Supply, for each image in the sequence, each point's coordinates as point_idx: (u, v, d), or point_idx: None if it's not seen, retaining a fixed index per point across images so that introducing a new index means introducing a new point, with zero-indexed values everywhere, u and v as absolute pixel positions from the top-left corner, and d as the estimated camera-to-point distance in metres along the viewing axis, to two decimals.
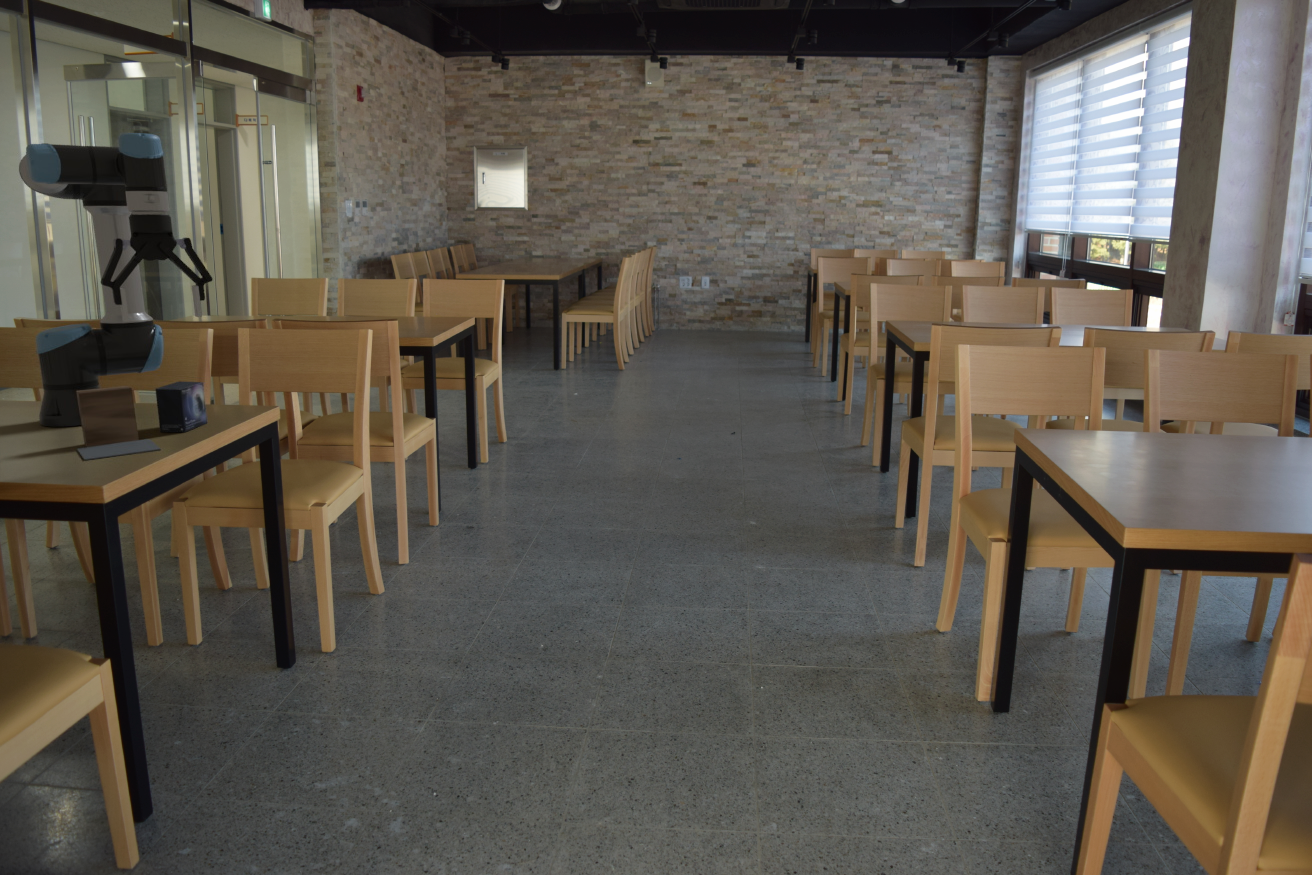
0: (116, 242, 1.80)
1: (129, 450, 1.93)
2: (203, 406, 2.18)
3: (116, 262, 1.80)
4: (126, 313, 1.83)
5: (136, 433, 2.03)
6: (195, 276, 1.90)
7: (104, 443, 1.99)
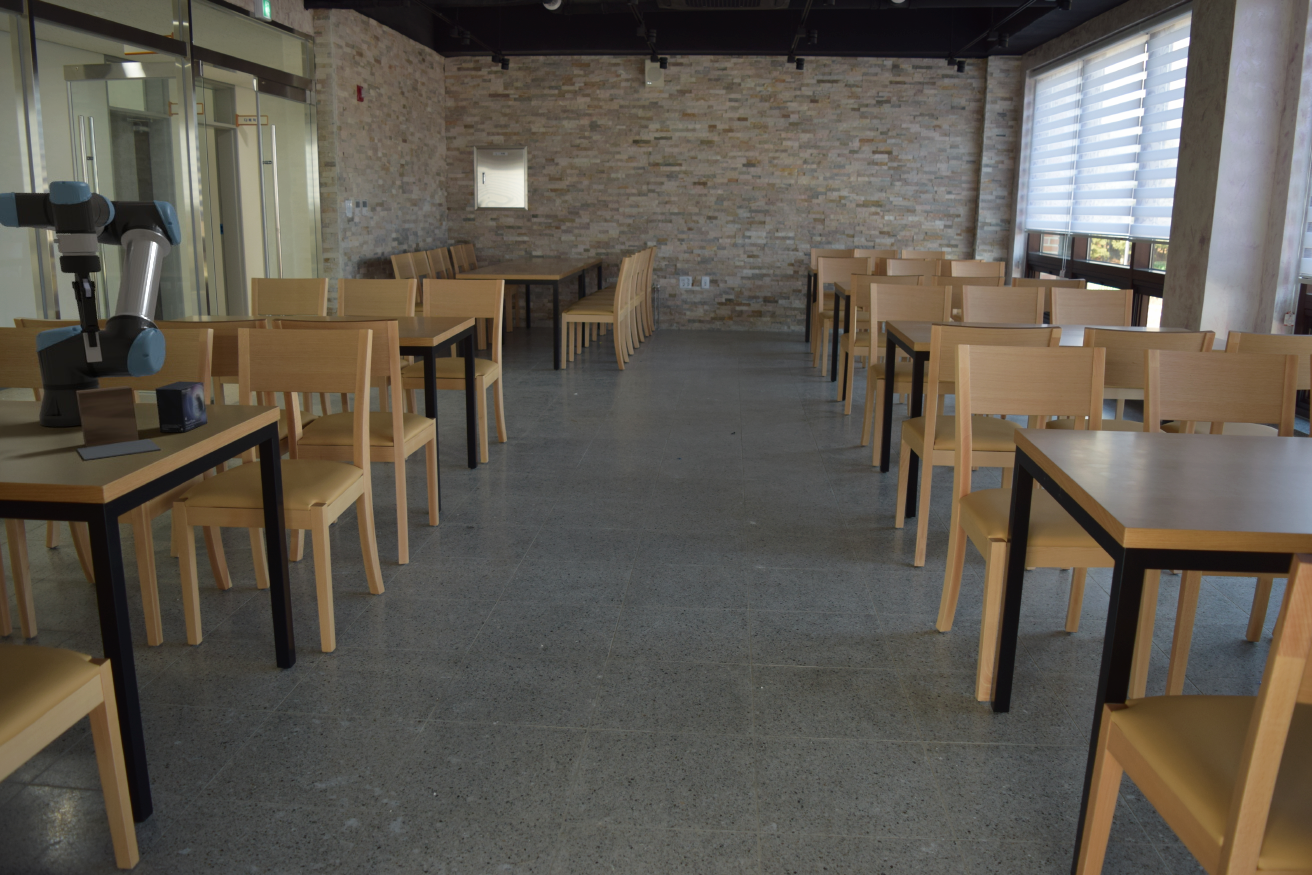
0: None
1: (129, 450, 1.93)
2: (203, 406, 2.18)
3: (77, 305, 2.03)
4: (86, 354, 2.03)
5: (136, 433, 2.03)
6: (83, 323, 2.00)
7: (104, 443, 1.99)
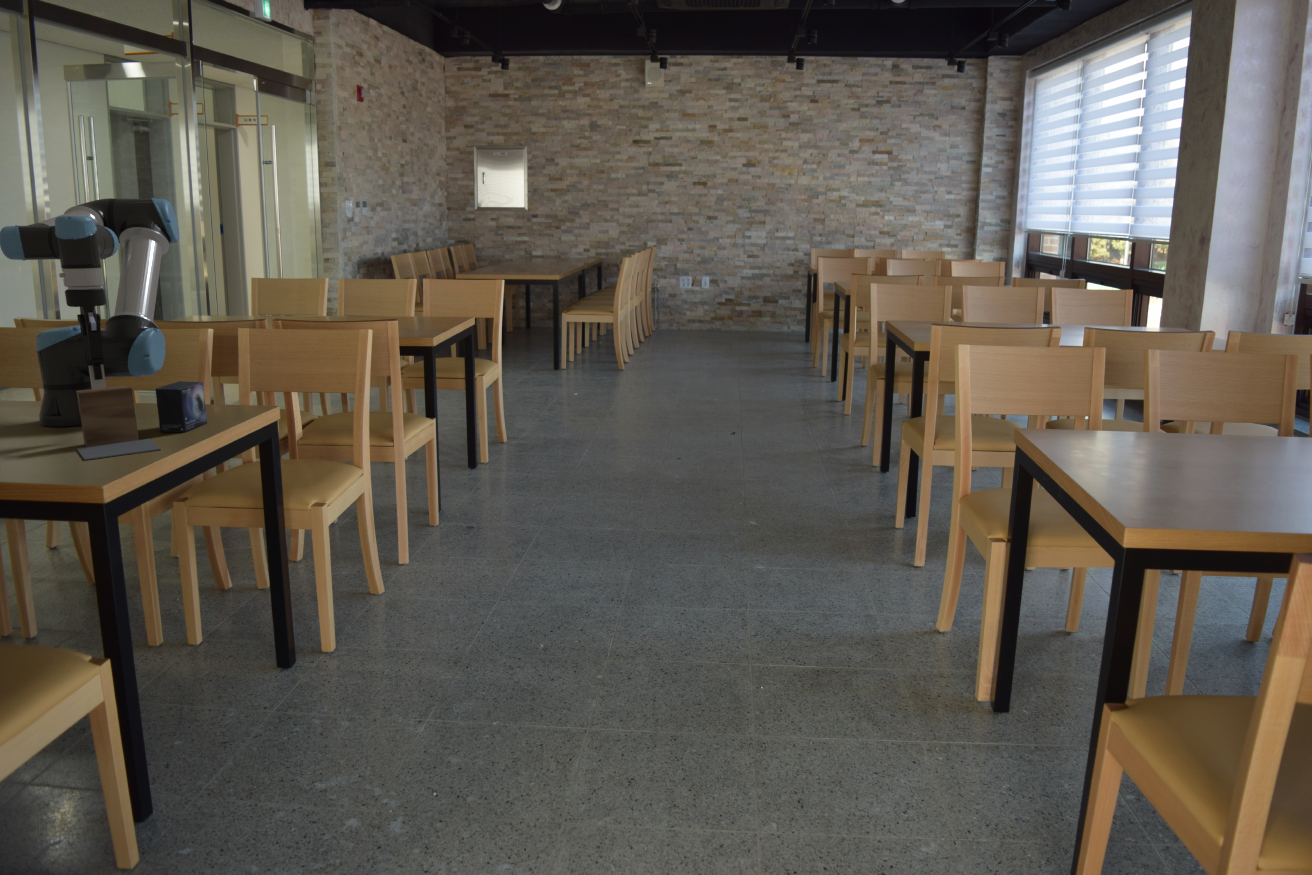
0: None
1: (129, 450, 1.93)
2: (203, 406, 2.18)
3: (83, 337, 2.04)
4: (91, 386, 2.04)
5: (136, 433, 2.03)
6: (88, 355, 2.01)
7: (104, 443, 1.99)
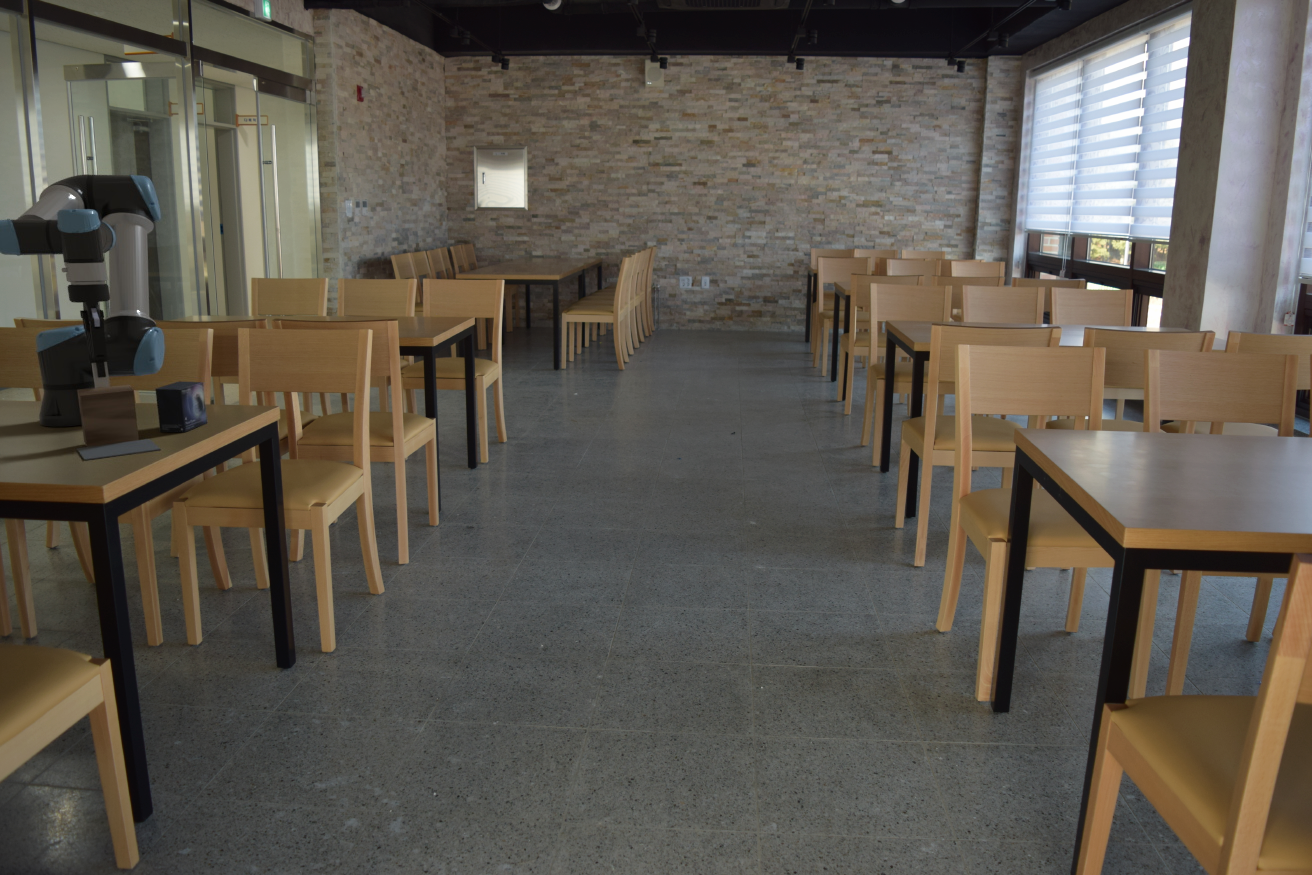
0: None
1: (129, 450, 1.93)
2: (203, 406, 2.18)
3: (86, 334, 1.99)
4: (94, 384, 1.99)
5: (136, 433, 2.02)
6: (92, 352, 1.96)
7: (104, 443, 1.99)
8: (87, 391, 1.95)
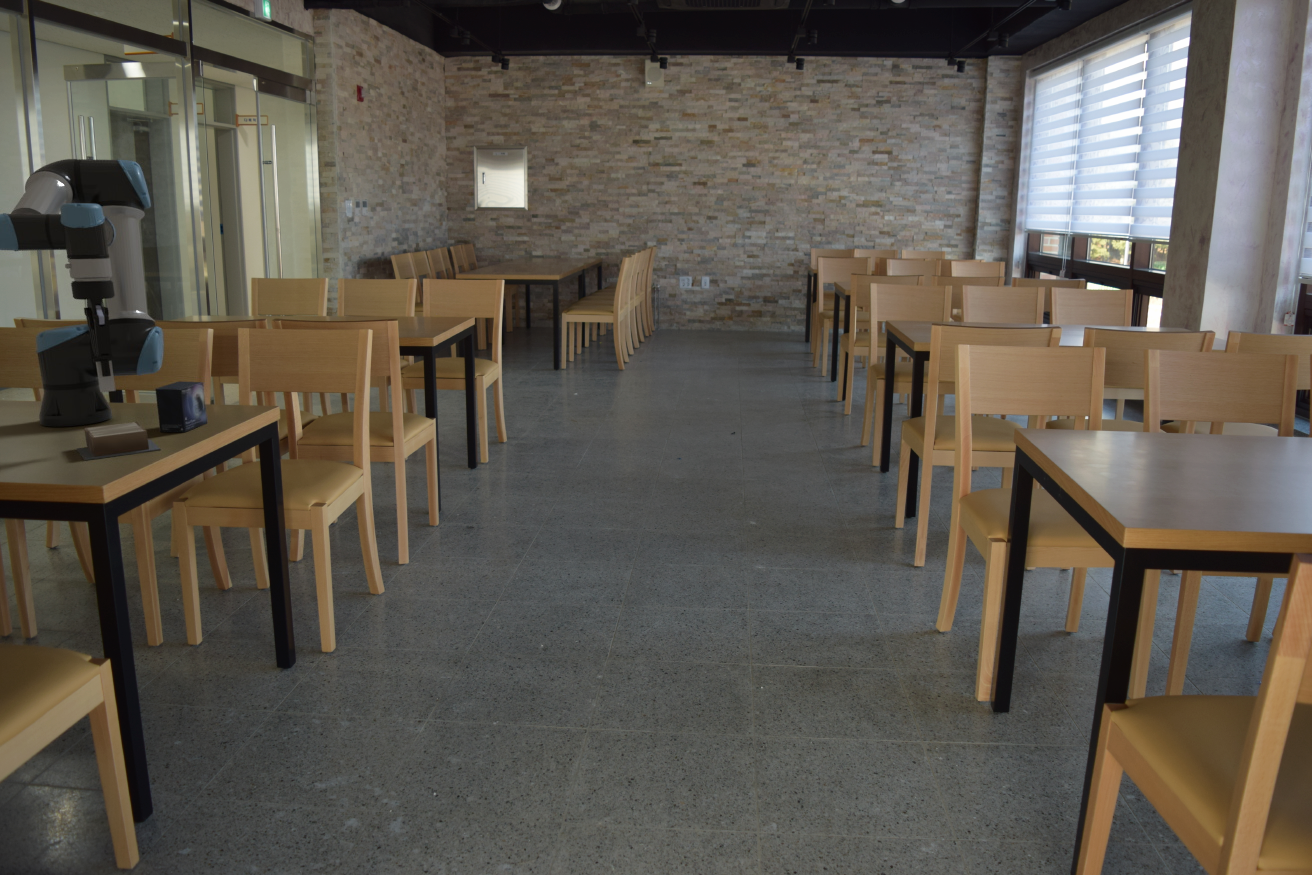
0: None
1: None
2: (203, 406, 2.18)
3: (90, 332, 1.94)
4: (99, 384, 1.93)
5: None
6: (96, 351, 1.91)
7: None
8: (102, 444, 1.88)
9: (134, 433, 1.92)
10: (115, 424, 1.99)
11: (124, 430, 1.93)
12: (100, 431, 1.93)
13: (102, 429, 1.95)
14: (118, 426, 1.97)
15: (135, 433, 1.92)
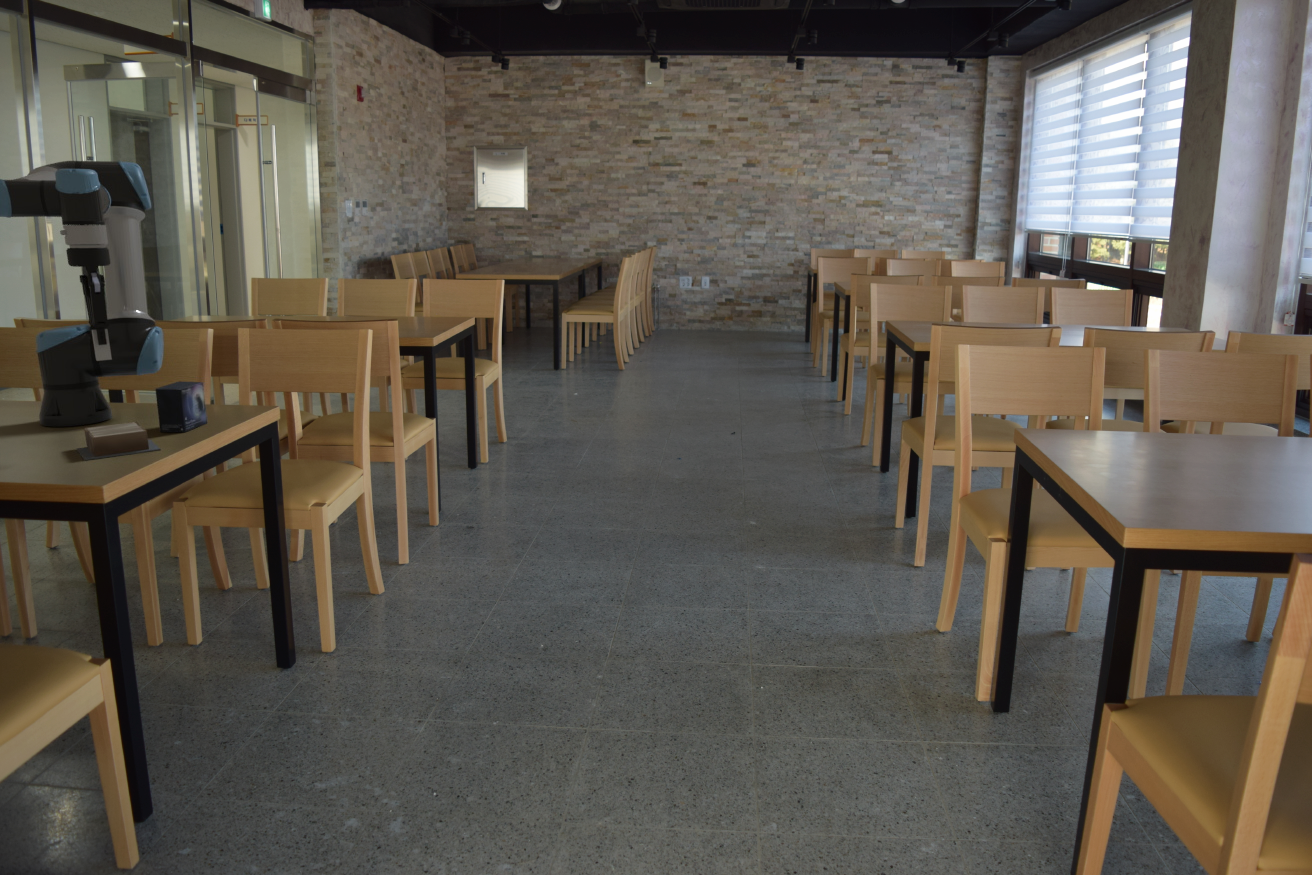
0: None
1: None
2: (203, 406, 2.18)
3: (85, 300, 1.92)
4: (95, 352, 1.92)
5: None
6: (92, 319, 1.89)
7: None
8: (102, 444, 1.88)
9: (134, 433, 1.92)
10: (115, 424, 1.99)
11: (124, 430, 1.93)
12: (100, 431, 1.93)
13: (102, 429, 1.95)
14: (118, 426, 1.97)
15: (135, 433, 1.92)
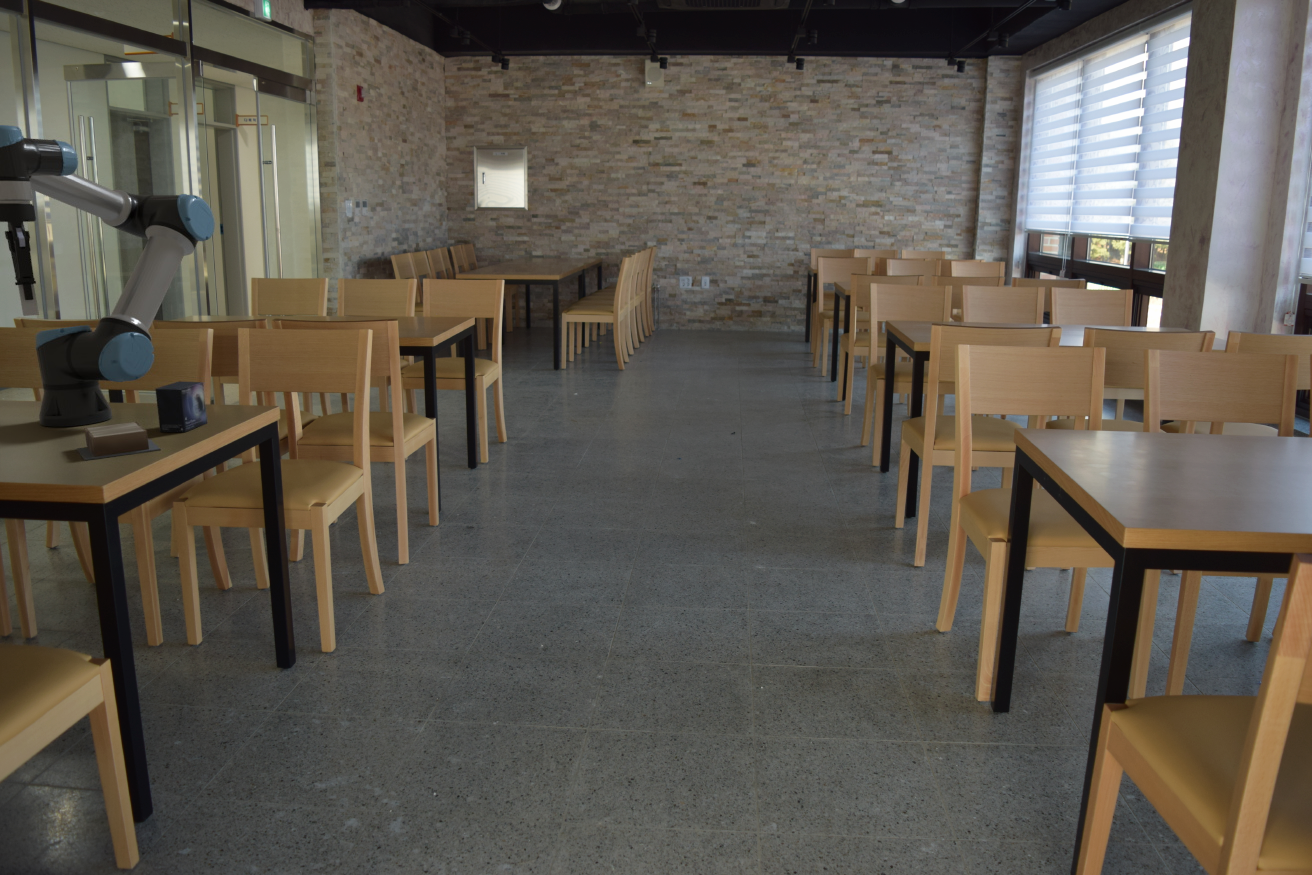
0: None
1: None
2: (203, 406, 2.18)
3: (12, 256, 1.95)
4: (22, 308, 1.95)
5: None
6: (18, 274, 1.92)
7: None
8: (102, 444, 1.88)
9: (134, 433, 1.92)
10: (115, 424, 1.99)
11: (124, 430, 1.93)
12: (100, 431, 1.93)
13: (102, 429, 1.95)
14: (118, 426, 1.97)
15: (135, 433, 1.92)
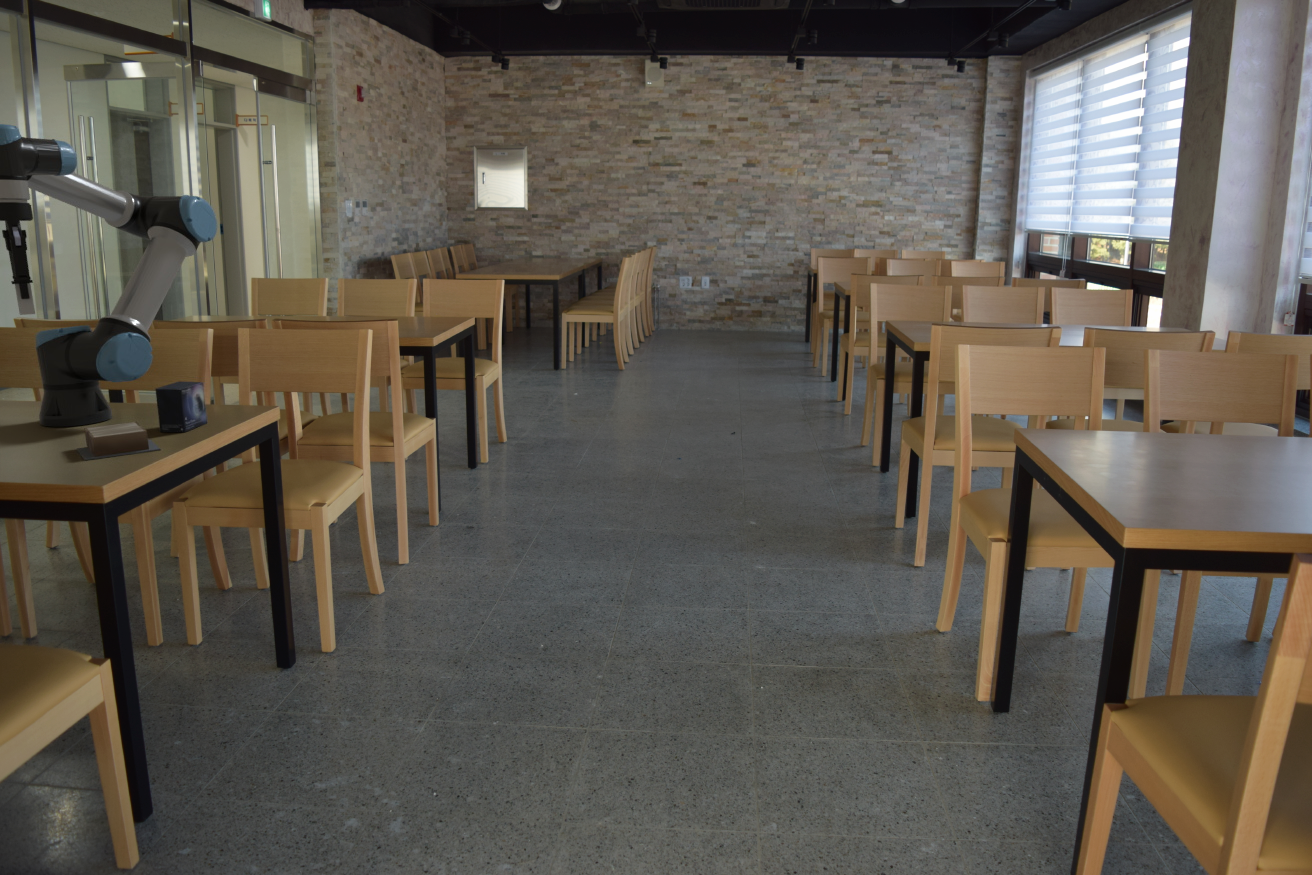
0: None
1: None
2: (203, 406, 2.18)
3: (9, 255, 1.95)
4: None
5: None
6: (14, 273, 1.92)
7: None
8: (102, 444, 1.88)
9: (134, 433, 1.92)
10: (115, 424, 1.99)
11: (124, 430, 1.93)
12: (100, 431, 1.93)
13: (102, 429, 1.95)
14: (118, 426, 1.97)
15: (135, 433, 1.92)
